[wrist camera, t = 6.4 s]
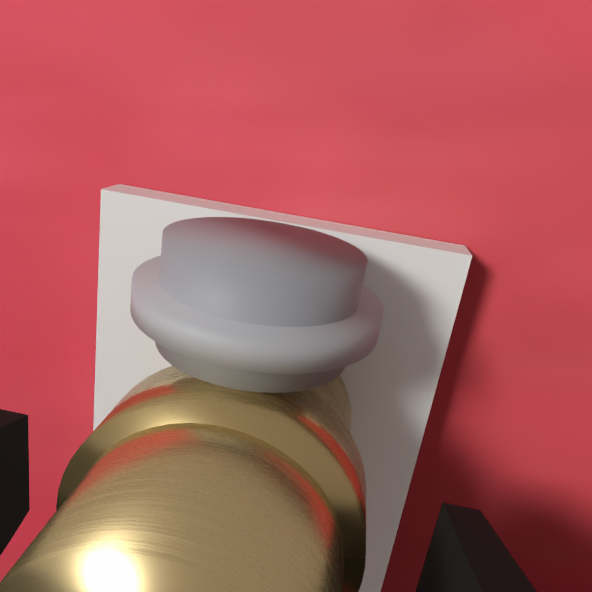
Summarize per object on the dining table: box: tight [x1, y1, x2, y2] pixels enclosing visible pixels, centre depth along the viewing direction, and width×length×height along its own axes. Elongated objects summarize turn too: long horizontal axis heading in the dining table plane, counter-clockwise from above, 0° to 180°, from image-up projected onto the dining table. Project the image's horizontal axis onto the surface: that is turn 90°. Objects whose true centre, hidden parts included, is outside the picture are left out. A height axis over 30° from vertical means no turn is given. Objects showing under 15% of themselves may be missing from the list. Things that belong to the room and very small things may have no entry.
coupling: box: [0, 365, 366, 592], centre depth 9 cm, size 5×5×6 cm
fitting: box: [93, 184, 472, 592], centre depth 10 cm, size 9×7×4 cm
